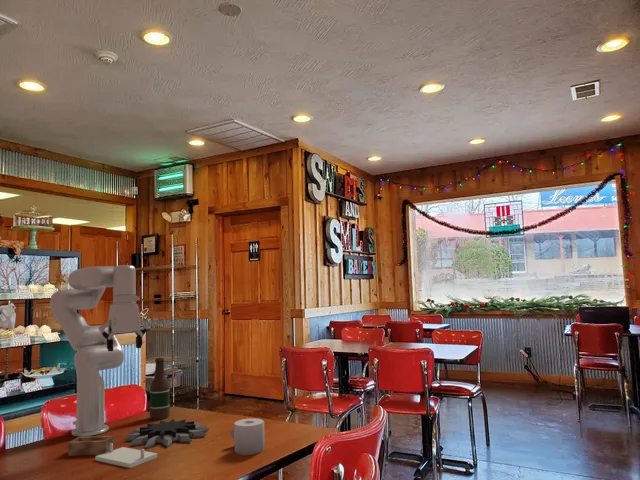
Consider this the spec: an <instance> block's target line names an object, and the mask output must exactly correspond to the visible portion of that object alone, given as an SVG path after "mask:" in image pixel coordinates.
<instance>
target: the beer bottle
mask: <svg viewBox="0 0 640 480" xmlns="http://www.w3.org/2000/svg"><path fill="white" fill-rule="evenodd" d="M154 361H155V368H154V378H153V379H152V381H151V383H150V387H149V388H150V389H149V417H150V420H153V421H157V420H158V421H163V420H165V419H168V418H169V417H170V412H171V411H170V409H171V408H170V404H171V403H170V402H171V401H170V399H171V397H170V395H171V394H170V391H171V390H170V383H169V380H168V379H167V378H166V375H165V358H164V357H157V358H154Z"/></svg>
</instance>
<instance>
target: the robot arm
mask: <svg viewBox="0 0 640 480" xmlns="http://www.w3.org/2000/svg"><path fill="white" fill-rule="evenodd" d="M136 271H137V269H136V267H135V266H134V265H129V264H122V265H119V264H118V265H114V266H113V265H111V266H110V265H108V266H107V265H106V266H105V265H104V266H101V265H100V266H99V265H98V266H97V265H96V266H95V265H94V266H86V267H84V268H79V269H75V270H73V271H72V272H70V274H69V275H68V278H67V282H68V285H69V286H70V287H71V288H68V289H67V288H66V289H61V290H60V289H59V290H57V291H55V292H54V293H52V294H51V297H50V300H49V306H50V311H51V314H52V316H53V318H54V319H55V320H56V323H58V325H60V327H61V328H62V329H63V332H64V334H65V337H66V339H67V341H68V342H69V345H70V347H71V348H72V349H73V350H74V351H75V352H76V353H75V355H74V359H73V360H74V367H75V373H76V419H75V420H73V421H72V425H74V426H75V428H73V430H72V431H71V436H74V437H88V436H98V435H101V434H104V433H106V432H108V431H109V429H110V428H109V427H110V426H109V425H107V424H105V404H106V403H105V402H106V401H105V399H106V398H105V393H106V391H105V389H106V388H105V384H106V383H105V380H104V378H103V376H101V374H100V372H99V371H104V370H111V369H112V370H113V369H116V368H119V367H120V366H121V365H122V364H123V362H124V360H125V355H124V350H123V347H122V346H121V344H120V342H119V340H118V339H117V336H116V334H125V333H126V334H128V333H135V335H136V337H135V348H136V349H141V348H142V346H143V337H144V335H145V334H146V333H147V331H148V329H149V327H150V323H149V322H146V321H144V320H142V319H141V314H140V308H139V304H138V303H137V301H140V300H141V297H140V296H137V290H136V288H137V287H136V286H137V285H136V283H137V275H136V274H137V273H136ZM106 288H112V294H113V295H112V302H113V303H112V304H110V305H109V312H108V319H107V322H105V323H104V324H102V325H99V324H98V325H89V324H88V323H87V320H86V319H85V318H84V317H83V316H82V315H81V314H80V313H78V312H77V310H78V311H79V310H91V309H94V308H96V307H97V305H98V304H99V302H100V300H101V298H102V296H103V294H104V293H105V291H106ZM75 310H76V311H75ZM141 326H143V328H142V329H141Z"/></svg>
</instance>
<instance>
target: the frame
mask: <svg viewBox="0 0 640 480" xmlns="http://www.w3.org/2000/svg"><path fill="white" fill-rule="evenodd" d="M110 443H113V450H115V435H92V436H82V437H79V436H76V438H74V439H72V440H71V441H69V442H68V445H67V446H68V447H67V455H68V457H72V456H73V457H74V456H98V455H101V454H104V453H107V452H110Z"/></svg>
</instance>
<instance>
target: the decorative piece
mask: <svg viewBox="0 0 640 480" xmlns="http://www.w3.org/2000/svg"><path fill="white" fill-rule="evenodd" d="M186 420H187V419H181V420H178V421H175V419H174V418H173V419H170V421H164V420H159V422H158V423H155V422H154V423H147V424H146V426H140V427H139V428H137V429H133V430H132V431H130V432H129V434H128V435H126V436H125V437H123V440H124V441H126V442H129V444H128V445H129V446H131V447H136V446H140V445H144V444H145V446H144V448H146V449H149V448H153V447H154V446H155V447H156V445H158V444H163V446H165V447H167V448H169V447H170V446H171V445H172V444H173V443H176V442H180V443H183V444H184V443H187V444H189V443H191V442H192V441H193V440H192V439H199V438H204V437H205V436H207V435H208V434H207V433H206V432H208V431H209V430H210V429H211V428H210V427H208V426H205V425H203V424H202V423H200V422H198V421H197V422H195V421H193V420H192V421H186Z"/></svg>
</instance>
